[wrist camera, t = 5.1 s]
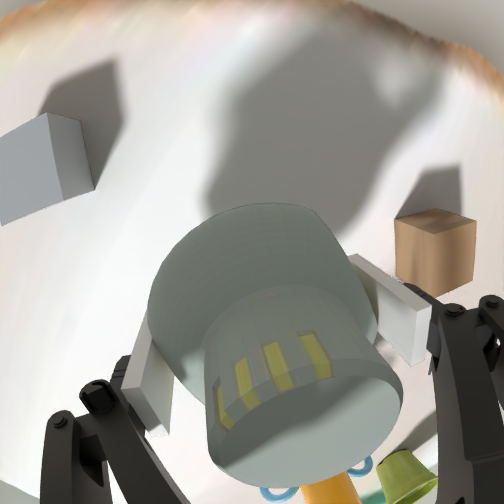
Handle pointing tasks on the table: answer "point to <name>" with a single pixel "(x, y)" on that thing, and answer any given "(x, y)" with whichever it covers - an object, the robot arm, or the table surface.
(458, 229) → the walnut block
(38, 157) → the grey block
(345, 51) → the table surface
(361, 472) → the cylinder
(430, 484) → the plant pot
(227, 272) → the air freshener
